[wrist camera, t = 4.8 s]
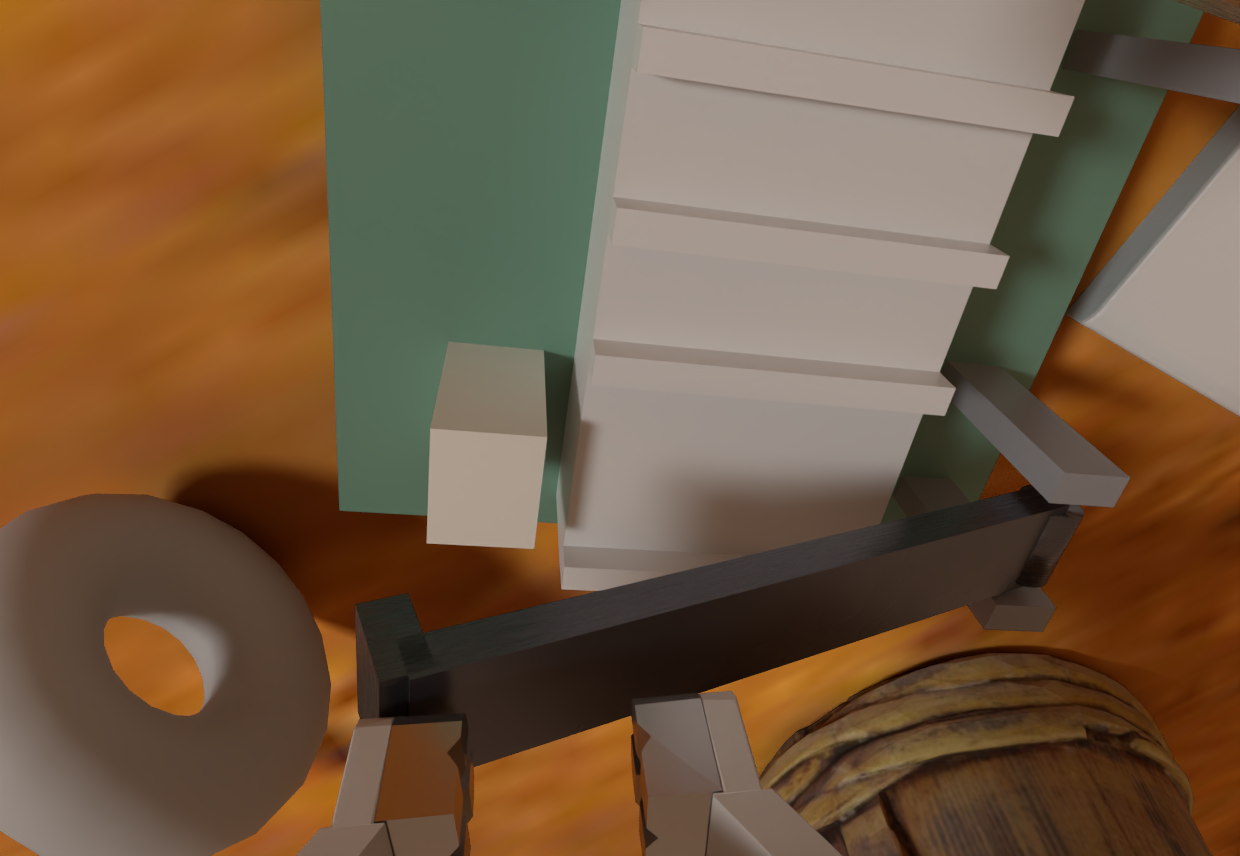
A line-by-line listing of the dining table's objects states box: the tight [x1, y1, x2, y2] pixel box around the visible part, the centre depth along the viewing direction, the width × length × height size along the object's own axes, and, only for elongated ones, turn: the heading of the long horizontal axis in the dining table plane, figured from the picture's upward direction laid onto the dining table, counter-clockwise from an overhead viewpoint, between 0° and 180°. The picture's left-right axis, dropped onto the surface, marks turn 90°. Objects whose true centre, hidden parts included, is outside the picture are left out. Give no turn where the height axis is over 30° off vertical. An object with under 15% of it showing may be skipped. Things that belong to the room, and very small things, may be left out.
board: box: [320, 0, 1240, 632], centre depth 17 cm, size 20×19×8 cm
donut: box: [0, 494, 331, 856], centre depth 20 cm, size 10×3×10 cm, turn 38°
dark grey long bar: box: [355, 485, 1084, 767], centre depth 15 cm, size 2×16×2 cm, turn 82°
